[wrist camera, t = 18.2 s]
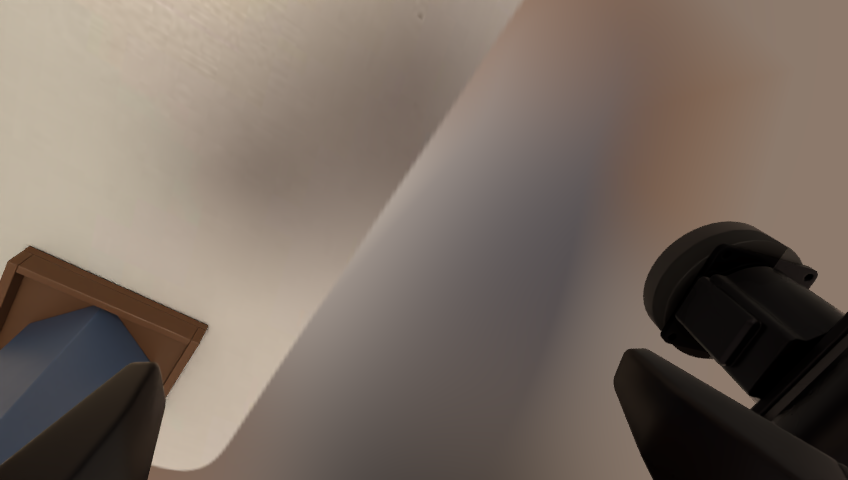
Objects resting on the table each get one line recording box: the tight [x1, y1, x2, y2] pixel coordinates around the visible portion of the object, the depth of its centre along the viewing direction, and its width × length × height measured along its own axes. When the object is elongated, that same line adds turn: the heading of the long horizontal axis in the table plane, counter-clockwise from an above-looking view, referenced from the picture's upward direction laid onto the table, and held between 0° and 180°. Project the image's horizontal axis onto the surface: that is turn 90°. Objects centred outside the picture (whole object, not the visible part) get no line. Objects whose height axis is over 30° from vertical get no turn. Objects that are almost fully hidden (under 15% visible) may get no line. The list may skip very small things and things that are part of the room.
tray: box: [0, 246, 208, 398], centre depth 23 cm, size 8×7×1 cm
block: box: [0, 306, 150, 465], centre depth 19 cm, size 4×4×10 cm
